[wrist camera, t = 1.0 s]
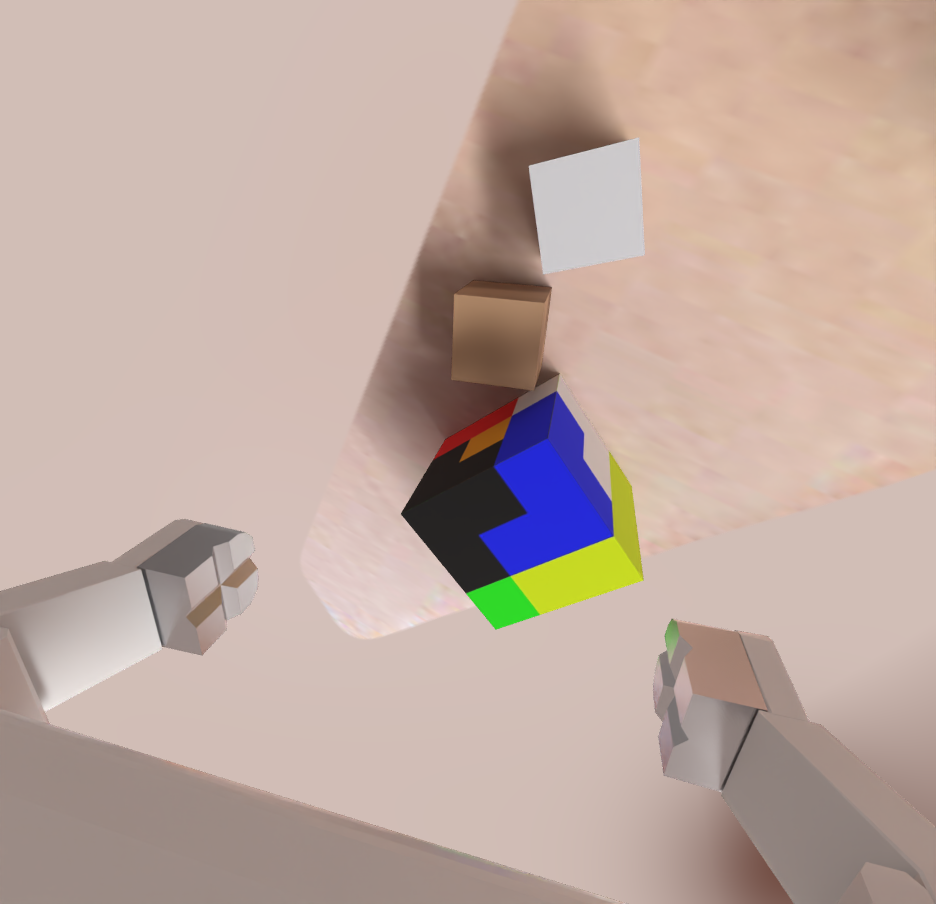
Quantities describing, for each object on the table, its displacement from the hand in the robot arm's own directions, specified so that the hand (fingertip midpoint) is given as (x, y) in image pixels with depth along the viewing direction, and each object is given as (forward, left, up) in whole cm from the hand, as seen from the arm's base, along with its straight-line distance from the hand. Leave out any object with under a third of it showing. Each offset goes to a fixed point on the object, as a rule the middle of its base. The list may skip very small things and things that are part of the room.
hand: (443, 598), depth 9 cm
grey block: (-6, +1, -25) cm, 26 cm away
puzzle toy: (+11, 0, -26) cm, 28 cm away
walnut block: (+1, -3, -25) cm, 25 cm away
